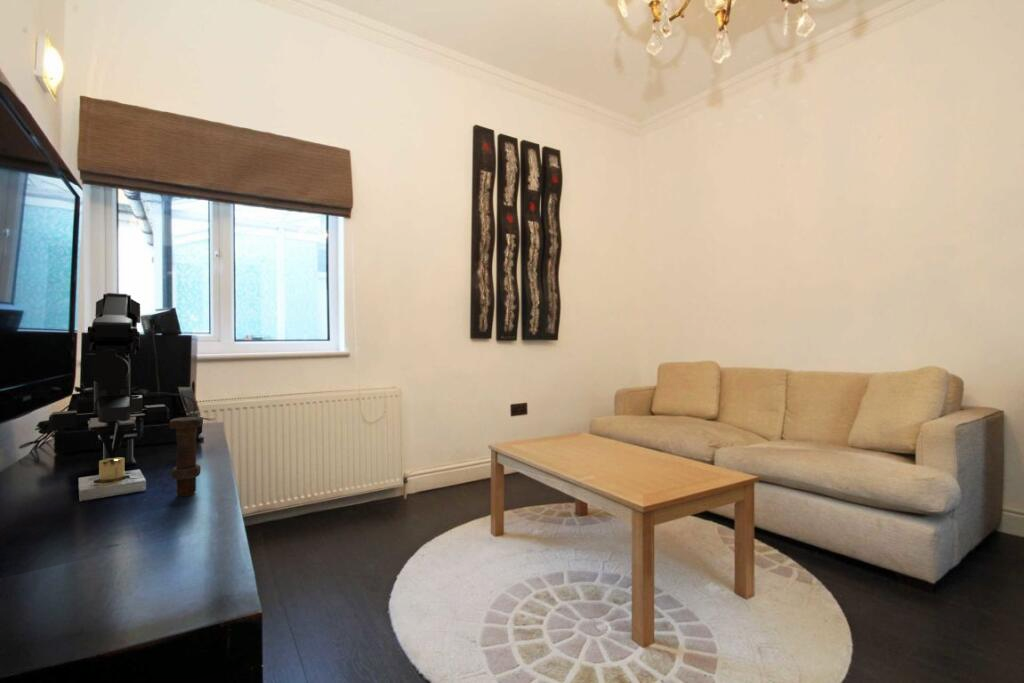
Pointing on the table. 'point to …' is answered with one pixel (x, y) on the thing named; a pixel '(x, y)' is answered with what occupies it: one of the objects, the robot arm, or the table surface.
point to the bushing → (111, 470)
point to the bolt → (186, 454)
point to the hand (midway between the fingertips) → (112, 458)
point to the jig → (111, 486)
